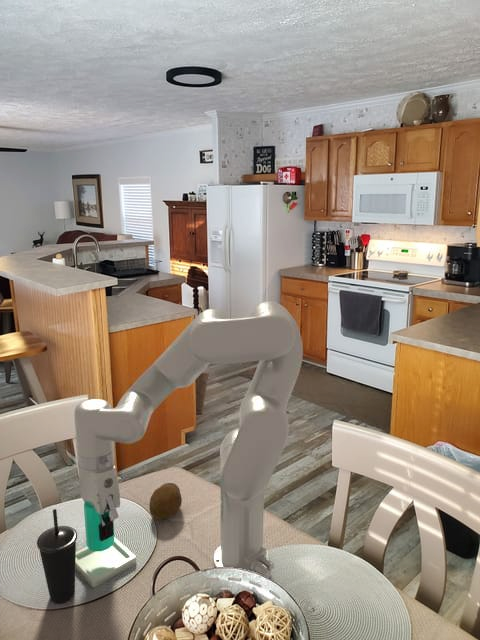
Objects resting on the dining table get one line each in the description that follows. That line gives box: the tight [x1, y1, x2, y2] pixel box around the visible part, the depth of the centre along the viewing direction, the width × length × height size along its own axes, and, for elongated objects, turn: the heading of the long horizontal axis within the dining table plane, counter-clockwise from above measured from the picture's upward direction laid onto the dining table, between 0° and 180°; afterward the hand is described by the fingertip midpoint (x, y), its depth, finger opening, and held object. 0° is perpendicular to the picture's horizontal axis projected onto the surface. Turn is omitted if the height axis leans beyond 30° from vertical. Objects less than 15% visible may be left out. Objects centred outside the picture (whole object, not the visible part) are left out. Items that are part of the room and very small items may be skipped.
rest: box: [75, 536, 137, 589], centre depth 114 cm, size 11×11×2 cm
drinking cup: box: [36, 508, 78, 605], centre depth 103 cm, size 8×8×20 cm
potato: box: [149, 482, 183, 521], centre depth 131 cm, size 8×12×8 cm, turn 178°
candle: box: [83, 501, 115, 552], centre depth 112 cm, size 6×6×12 cm
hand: (100, 530), depth 113 cm, fingers closed on candle, 4 cm apart
